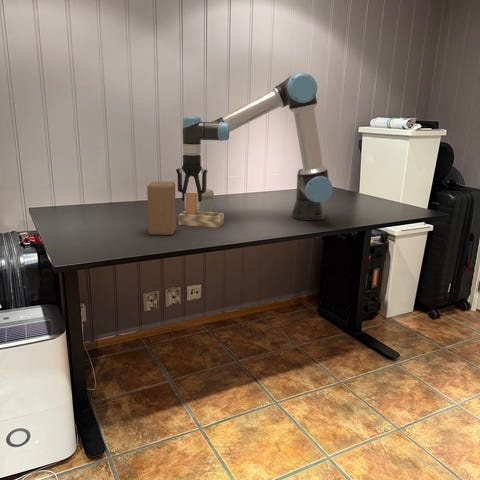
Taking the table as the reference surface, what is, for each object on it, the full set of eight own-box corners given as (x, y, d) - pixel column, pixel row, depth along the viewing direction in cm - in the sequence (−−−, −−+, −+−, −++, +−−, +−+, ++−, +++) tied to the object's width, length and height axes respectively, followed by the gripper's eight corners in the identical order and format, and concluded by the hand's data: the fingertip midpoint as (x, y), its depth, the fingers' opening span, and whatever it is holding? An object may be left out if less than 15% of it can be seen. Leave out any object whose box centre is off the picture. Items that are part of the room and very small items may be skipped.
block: (176, 229, 194) (175, 181, 189) (173, 235, 185) (172, 185, 179) (151, 229, 194) (150, 181, 189) (148, 235, 184) (146, 184, 179)
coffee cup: (197, 217, 217) (197, 191, 214) (194, 213, 225) (194, 188, 222) (215, 216, 219) (215, 191, 216) (211, 213, 227) (211, 188, 224)
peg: (197, 220, 207) (197, 193, 204) (195, 222, 203) (195, 194, 200) (189, 219, 207) (188, 192, 204) (186, 221, 204) (186, 194, 200)
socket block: (223, 222, 208) (223, 213, 206) (219, 227, 199) (219, 217, 198) (184, 220, 211) (184, 210, 209) (178, 224, 202) (178, 214, 201)
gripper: (214, 154, 200) (213, 208, 206) (174, 152, 203) (175, 205, 209) (209, 155, 193) (209, 211, 199) (169, 154, 195) (169, 209, 202)
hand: (192, 208), depth 204 cm, fingers open, 4 cm apart
